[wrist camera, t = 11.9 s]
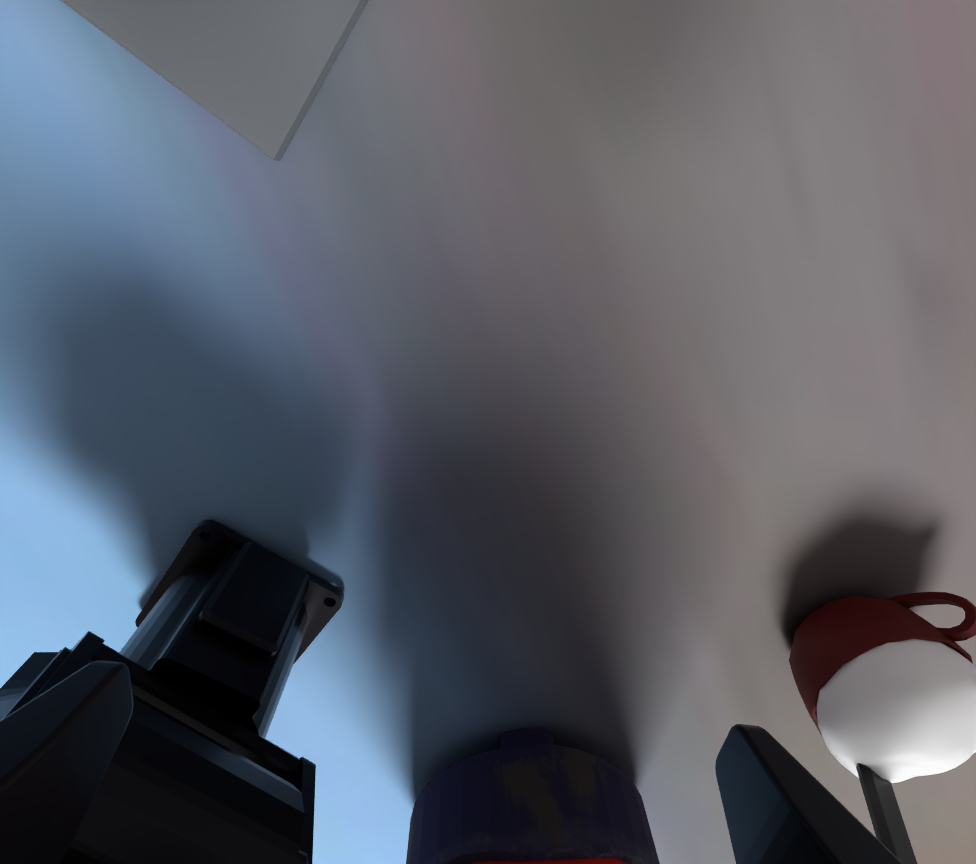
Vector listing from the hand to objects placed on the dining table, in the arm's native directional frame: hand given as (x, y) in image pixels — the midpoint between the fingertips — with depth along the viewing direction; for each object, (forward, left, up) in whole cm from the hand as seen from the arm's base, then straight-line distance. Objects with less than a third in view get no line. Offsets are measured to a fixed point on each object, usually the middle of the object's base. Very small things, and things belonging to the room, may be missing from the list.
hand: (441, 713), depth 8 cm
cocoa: (+1, -20, -13) cm, 24 cm away
